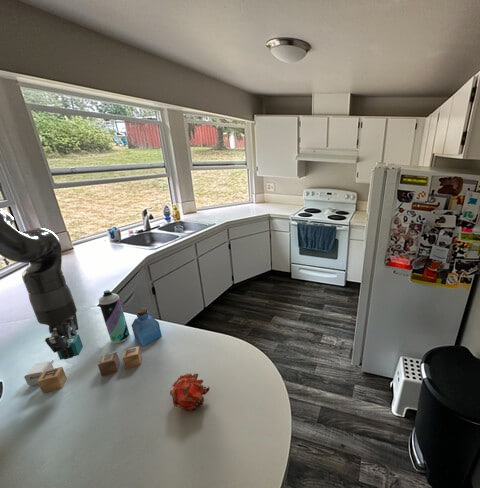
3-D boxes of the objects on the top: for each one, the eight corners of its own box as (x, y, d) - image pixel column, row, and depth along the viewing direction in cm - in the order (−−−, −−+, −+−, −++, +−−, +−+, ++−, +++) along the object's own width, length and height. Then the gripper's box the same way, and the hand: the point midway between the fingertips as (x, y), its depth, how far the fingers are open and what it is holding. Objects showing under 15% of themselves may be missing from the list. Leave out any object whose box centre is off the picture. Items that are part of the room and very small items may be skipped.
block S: (60, 359, 71) (54, 346, 69) (65, 350, 74) (60, 337, 72) (78, 355, 73) (74, 342, 71) (83, 346, 76) (78, 333, 74)
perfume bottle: (161, 335, 95) (155, 309, 91) (143, 345, 90) (136, 317, 86) (153, 329, 98) (146, 303, 94) (135, 339, 93) (127, 311, 89)
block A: (42, 393, 71) (37, 381, 70) (48, 382, 74) (43, 371, 73) (61, 387, 73) (56, 376, 71) (66, 377, 76) (62, 366, 75)
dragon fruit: (182, 391, 75) (205, 418, 69) (155, 397, 68) (177, 428, 62) (197, 364, 76) (220, 389, 70) (172, 367, 69) (196, 395, 63)
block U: (101, 376, 77) (97, 364, 76) (104, 367, 80) (100, 355, 79) (117, 371, 79) (114, 360, 78) (120, 362, 82) (116, 351, 81)
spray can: (107, 341, 91) (91, 294, 84) (122, 332, 96) (108, 286, 89) (119, 344, 90) (104, 296, 83) (133, 334, 95) (120, 288, 88)
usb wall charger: (28, 385, 73) (23, 375, 72) (42, 368, 79) (38, 358, 78) (46, 381, 75) (41, 371, 73) (59, 364, 81) (55, 354, 79)
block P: (125, 369, 80) (122, 357, 78) (127, 360, 83) (124, 349, 82) (140, 364, 82) (137, 353, 80) (142, 356, 85) (139, 345, 84)
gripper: (45, 292, 72) (63, 341, 77) (19, 320, 60) (43, 375, 66) (80, 287, 75) (95, 334, 81) (62, 312, 63) (81, 365, 69)
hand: (71, 352), depth 73 cm, fingers closed on block S, 4 cm apart
